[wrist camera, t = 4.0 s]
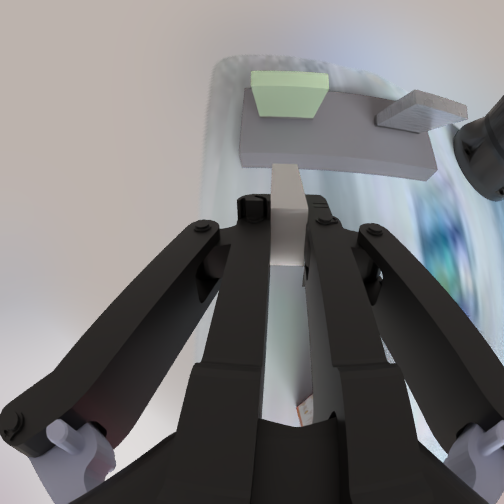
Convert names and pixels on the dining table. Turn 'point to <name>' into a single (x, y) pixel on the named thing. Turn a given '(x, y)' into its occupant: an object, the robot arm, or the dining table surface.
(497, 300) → the dining table surface
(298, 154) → the panel
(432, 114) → the light grey rectangular slab
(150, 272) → the robot arm
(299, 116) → the pale green flat slab
